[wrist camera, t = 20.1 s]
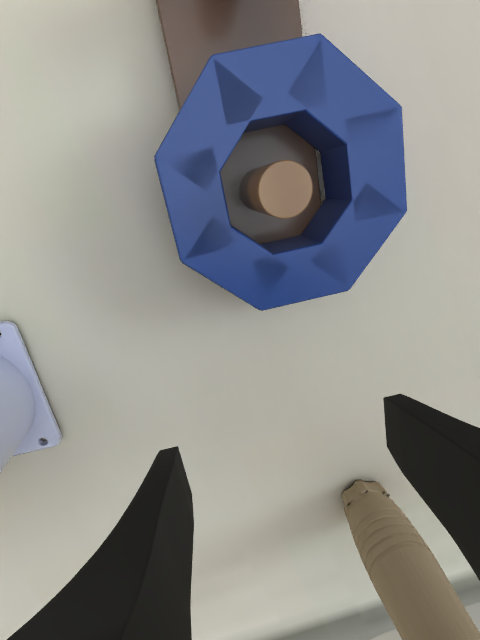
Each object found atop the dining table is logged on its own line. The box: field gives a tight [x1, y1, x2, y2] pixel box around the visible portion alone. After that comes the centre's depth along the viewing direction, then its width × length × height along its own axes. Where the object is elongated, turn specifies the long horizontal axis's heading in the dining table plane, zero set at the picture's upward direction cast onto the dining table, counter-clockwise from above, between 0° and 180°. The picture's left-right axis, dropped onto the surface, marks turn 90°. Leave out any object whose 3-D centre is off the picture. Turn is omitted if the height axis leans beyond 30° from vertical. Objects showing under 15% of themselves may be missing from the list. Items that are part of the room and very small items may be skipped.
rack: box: [156, 0, 321, 244], centre depth 15 cm, size 6×15×7 cm, turn 11°
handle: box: [342, 480, 480, 640], centre depth 21 cm, size 5×6×15 cm
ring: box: [154, 34, 407, 310], centre depth 17 cm, size 10×10×3 cm
